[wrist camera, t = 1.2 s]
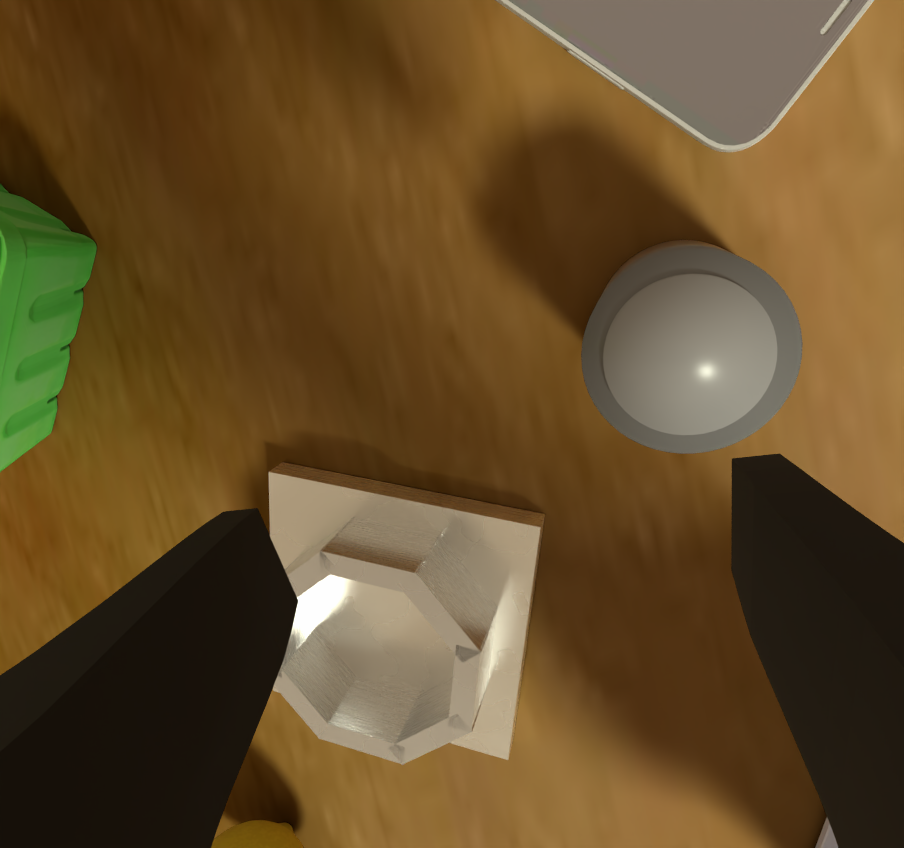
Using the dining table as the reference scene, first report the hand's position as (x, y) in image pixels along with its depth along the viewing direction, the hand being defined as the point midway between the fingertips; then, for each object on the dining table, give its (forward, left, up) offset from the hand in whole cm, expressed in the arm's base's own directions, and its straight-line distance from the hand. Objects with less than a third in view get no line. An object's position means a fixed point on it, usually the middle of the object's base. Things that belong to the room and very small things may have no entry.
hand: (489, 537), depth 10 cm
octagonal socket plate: (+5, +10, -11) cm, 16 cm away
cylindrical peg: (-3, -2, -11) cm, 12 cm away
